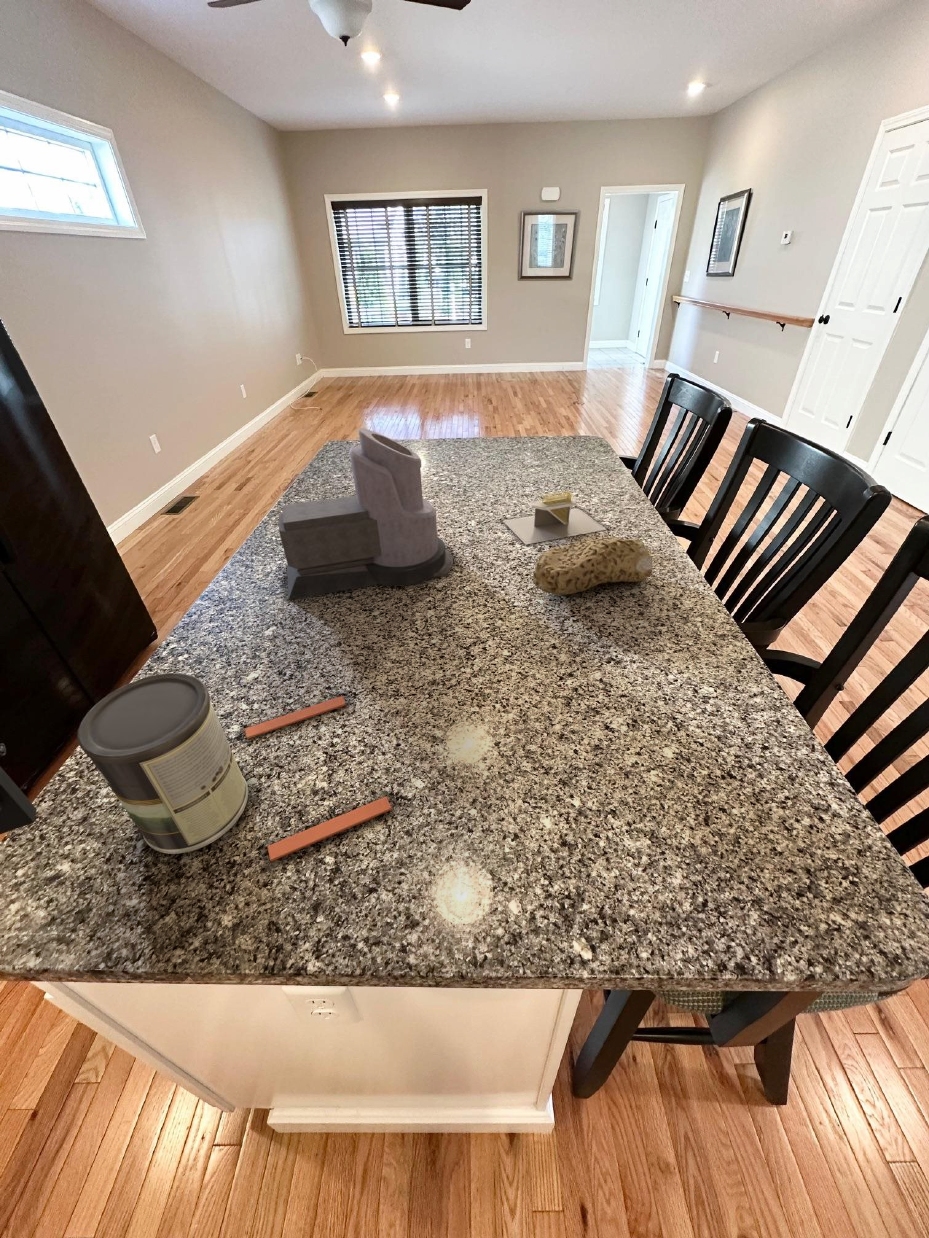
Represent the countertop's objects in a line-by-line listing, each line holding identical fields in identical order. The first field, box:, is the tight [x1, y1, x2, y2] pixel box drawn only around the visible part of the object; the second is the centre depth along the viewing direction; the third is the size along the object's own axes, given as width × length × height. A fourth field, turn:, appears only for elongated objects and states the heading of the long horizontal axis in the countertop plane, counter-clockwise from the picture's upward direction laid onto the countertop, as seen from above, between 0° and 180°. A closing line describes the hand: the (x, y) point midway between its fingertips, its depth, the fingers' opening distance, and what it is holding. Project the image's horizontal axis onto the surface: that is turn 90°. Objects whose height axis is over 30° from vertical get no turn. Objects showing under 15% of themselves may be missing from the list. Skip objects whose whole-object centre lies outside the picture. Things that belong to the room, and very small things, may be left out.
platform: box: [502, 490, 607, 545], centre depth 105 cm, size 12×18×7 cm, turn 109°
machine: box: [278, 427, 454, 601], centre depth 87 cm, size 30×16×24 cm, turn 107°
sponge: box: [532, 537, 653, 596], centre depth 85 cm, size 13×8×20 cm
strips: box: [244, 695, 393, 862], centre depth 57 cm, size 12×19×1 cm, turn 26°
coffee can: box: [76, 672, 249, 855], centre depth 49 cm, size 10×10×14 cm
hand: (16, 822), depth 45 cm, fingers closed
